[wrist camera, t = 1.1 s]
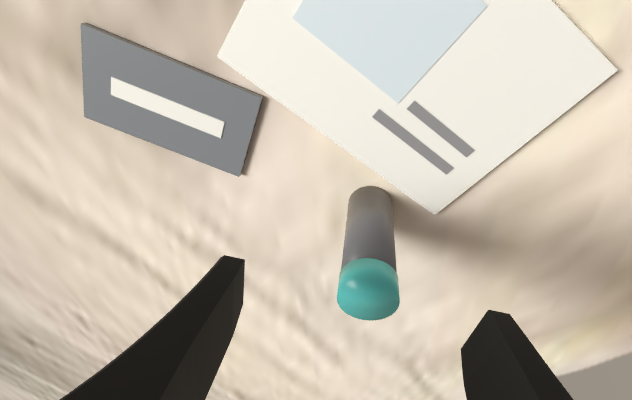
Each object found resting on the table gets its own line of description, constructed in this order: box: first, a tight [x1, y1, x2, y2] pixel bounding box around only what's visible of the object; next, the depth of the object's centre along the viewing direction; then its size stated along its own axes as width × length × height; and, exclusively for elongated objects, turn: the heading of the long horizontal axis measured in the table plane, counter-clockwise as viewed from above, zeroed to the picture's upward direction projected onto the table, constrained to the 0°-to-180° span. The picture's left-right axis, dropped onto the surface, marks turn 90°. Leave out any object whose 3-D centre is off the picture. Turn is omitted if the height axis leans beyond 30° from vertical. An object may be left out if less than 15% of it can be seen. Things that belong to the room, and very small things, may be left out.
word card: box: [81, 23, 263, 177], centre depth 18 cm, size 9×5×1 cm, turn 69°
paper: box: [217, 0, 618, 215], centre depth 16 cm, size 14×10×1 cm
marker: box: [337, 186, 399, 320], centre depth 18 cm, size 3×3×7 cm
